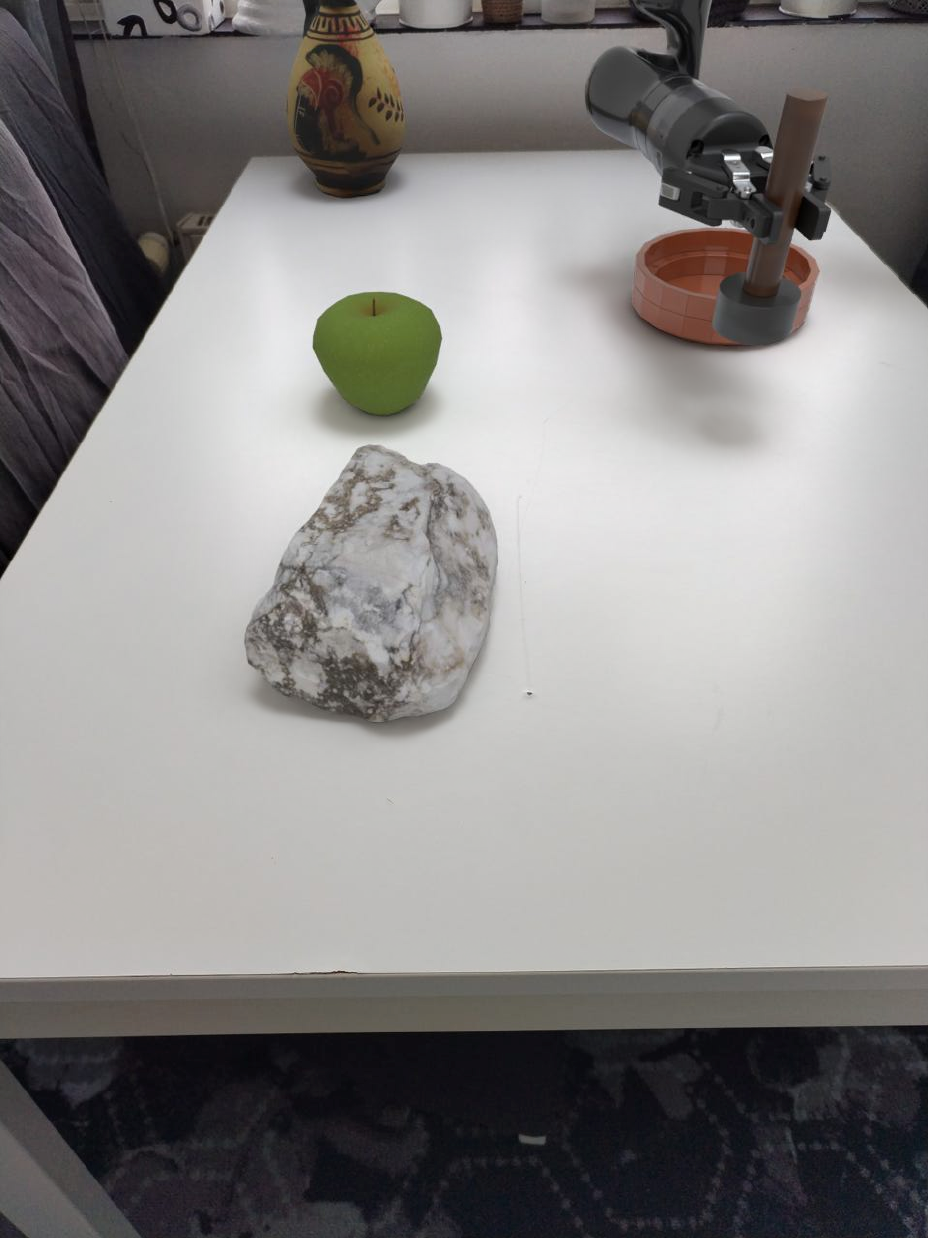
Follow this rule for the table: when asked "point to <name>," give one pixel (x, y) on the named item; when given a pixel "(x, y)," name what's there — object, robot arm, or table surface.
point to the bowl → (703, 279)
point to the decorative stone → (380, 592)
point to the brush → (761, 296)
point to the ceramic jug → (344, 101)
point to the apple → (378, 349)
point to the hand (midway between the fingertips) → (798, 227)
